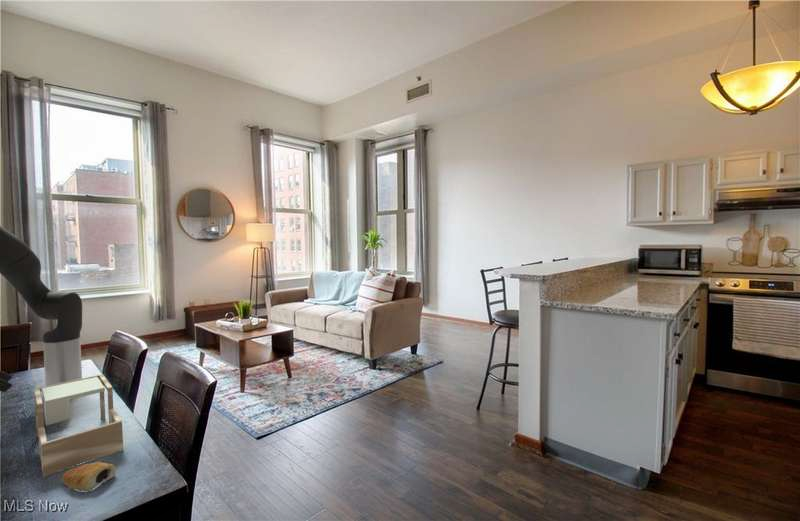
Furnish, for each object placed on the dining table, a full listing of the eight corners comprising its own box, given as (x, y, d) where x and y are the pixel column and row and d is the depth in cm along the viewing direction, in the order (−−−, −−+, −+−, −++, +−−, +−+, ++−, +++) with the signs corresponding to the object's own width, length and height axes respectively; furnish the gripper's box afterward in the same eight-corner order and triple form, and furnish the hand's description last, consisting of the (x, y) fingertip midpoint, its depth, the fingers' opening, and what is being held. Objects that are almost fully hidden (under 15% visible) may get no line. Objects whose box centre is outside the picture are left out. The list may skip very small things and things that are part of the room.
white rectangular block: (44, 419, 104) (43, 391, 104) (68, 413, 108) (67, 386, 107) (46, 425, 101) (44, 396, 100) (70, 419, 104) (69, 391, 104)
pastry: (50, 490, 74) (49, 471, 74) (84, 470, 81) (84, 453, 81) (89, 495, 73) (88, 476, 72) (121, 474, 79) (120, 457, 79)
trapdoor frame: (36, 436, 95) (34, 388, 94) (104, 417, 105) (102, 374, 104) (43, 476, 78) (40, 419, 78) (123, 449, 88) (121, 398, 88)
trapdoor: (42, 392, 94) (42, 388, 94) (97, 380, 102) (97, 376, 102) (45, 405, 87) (45, 401, 87) (104, 391, 95) (104, 387, 95)
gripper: (-51, 343, 85) (23, 378, 94) (-45, 332, 95) (22, 365, 104) (-87, 371, 81) (-7, 405, 90) (-77, 358, 91) (-5, 389, 100)
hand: (8, 384), depth 97 cm, fingers open, 8 cm apart
